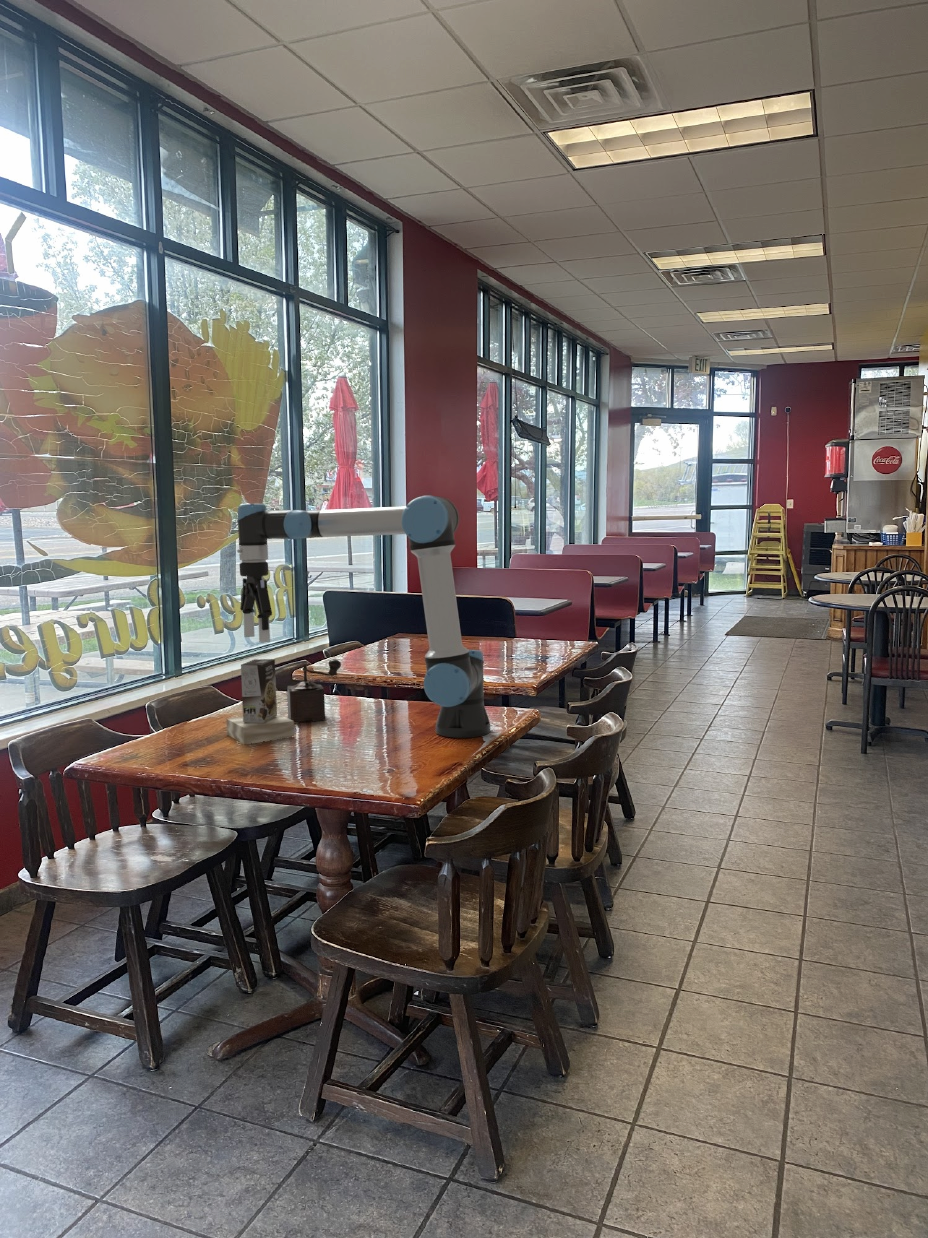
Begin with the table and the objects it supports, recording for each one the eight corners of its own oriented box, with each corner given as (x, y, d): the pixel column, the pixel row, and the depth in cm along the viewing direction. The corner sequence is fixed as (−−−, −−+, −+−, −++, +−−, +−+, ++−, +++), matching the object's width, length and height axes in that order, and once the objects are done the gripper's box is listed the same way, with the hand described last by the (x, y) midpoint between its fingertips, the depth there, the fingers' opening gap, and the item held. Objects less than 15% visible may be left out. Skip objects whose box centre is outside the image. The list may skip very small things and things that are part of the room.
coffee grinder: (290, 723, 264) (288, 662, 262) (287, 716, 274) (285, 657, 272) (343, 720, 268) (342, 659, 266) (338, 712, 278) (337, 654, 276)
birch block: (294, 739, 247) (293, 721, 247) (244, 746, 240) (243, 728, 239) (275, 729, 259) (274, 712, 258) (227, 736, 251) (226, 718, 251)
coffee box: (264, 723, 244) (262, 664, 242) (242, 723, 245) (239, 664, 243) (278, 715, 253) (275, 658, 250) (256, 714, 254) (254, 658, 252)
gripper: (227, 560, 253) (230, 635, 255) (254, 563, 231) (257, 645, 234) (253, 559, 257) (256, 633, 259) (282, 562, 235) (285, 643, 237)
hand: (256, 639), depth 246 cm, fingers open, 13 cm apart
